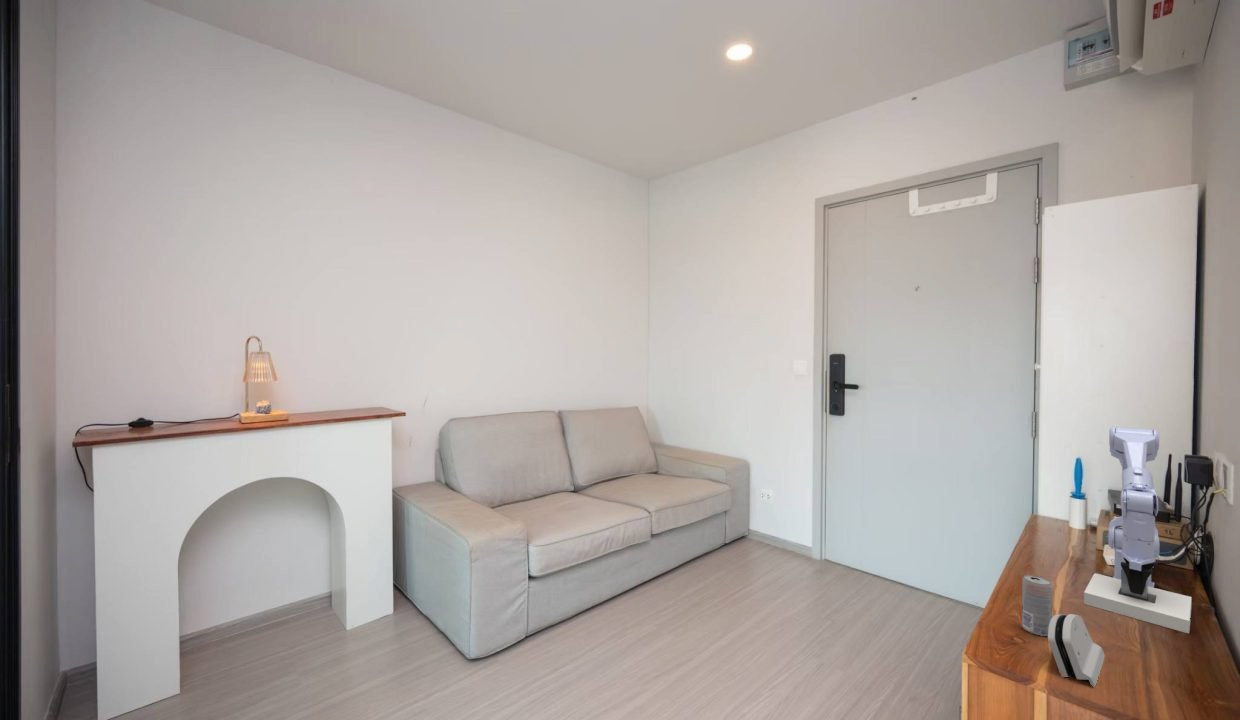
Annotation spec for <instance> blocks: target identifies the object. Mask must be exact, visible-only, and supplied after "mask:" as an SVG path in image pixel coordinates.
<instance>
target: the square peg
mask: <svg viewBox="0 0 1240 720" xmlns="http://www.w3.org/2000/svg"><path fill="white" fill-rule="evenodd" d="M1121 595H1124V596H1128V597H1132V598H1136V599H1140V600H1143V601H1147V602H1148V579H1147V581H1146V585H1145V589H1144V592H1143V594H1142V595H1139V594H1135V593H1131V592H1130V589H1129V585H1128V581H1127V577H1126V574H1125V572H1124V570H1123V569H1121Z"/></svg>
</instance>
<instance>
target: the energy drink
mask: <svg viewBox="0 0 1240 720" xmlns="http://www.w3.org/2000/svg"><path fill="white" fill-rule="evenodd" d="M1021 582H1022V585H1021V587H1022V588H1021V589H1022V590H1021V594H1022V595H1021V599H1022V600H1021V627H1022V628H1023V630H1025V632H1027V631H1028V632H1027V633H1029V632H1030V634H1032V633H1033V634H1032V635H1034V634H1036V635H1035V636H1038V635H1040V636H1039V637H1043V636H1047V637H1048V629H1049V624H1050V621H1051V619H1052V617H1053V584H1052V581H1051V580H1050V579H1048V578H1045V577H1042V576H1038V575H1033V574H1025V575H1024V576H1023V578H1022V581H1021Z"/></svg>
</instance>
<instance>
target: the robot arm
mask: <svg viewBox="0 0 1240 720" xmlns="http://www.w3.org/2000/svg"><path fill="white" fill-rule="evenodd" d="M1108 436H1109V438H1108V439H1109V440H1108V441H1109V453H1110V456H1111V457H1114V458H1115V459H1117V460H1119V463H1120V465H1121V482H1122V483H1121V487H1122V490H1121V492H1120V509H1121V516H1119V517H1116V518H1113V519H1111V520H1110V521H1109V525H1108V536H1107V537H1108V547H1109V548H1110V549H1111V550H1112V549H1113V550H1114V573H1113V576H1112V578H1116V579H1120V580H1121V569H1123V570H1124V572H1125V574H1126V577H1127V581H1128V585H1129V589H1130V592H1131V593H1135V594H1139V595H1142V594H1143V592H1144V589H1145V585H1146V581H1147V579H1148V586H1149V587H1153V588H1155V582H1154V581H1152V574H1153V571H1154V570H1153V568H1154V567H1155V566H1156V558H1157V557H1158V556H1159V555H1160V549H1161V548H1160V537H1159V530H1158V529H1157V527H1156V517H1157V515H1158V513H1159V499H1158V495H1157V492H1156V491H1157V490H1155V489H1154V478H1153V475H1152V473H1151V472H1150V471H1149V470H1147V469H1146V466H1147V465H1146V464H1147V463H1148V462H1151V461H1155V460H1156V458H1157V456H1158V452H1159V448H1160V434H1159V431H1158V430H1157V429H1144V428H1142V429H1141V428H1131V427H1117V426H1111V427H1110V428H1109V435H1108Z"/></svg>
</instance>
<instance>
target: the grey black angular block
mask: <svg viewBox="0 0 1240 720" xmlns="http://www.w3.org/2000/svg"><path fill="white" fill-rule="evenodd" d="M1088 630H1089V629H1087V627H1086V624H1085V621H1084V619H1083V617H1082V616H1081V615H1078V614H1074V613H1073V614H1072V613H1069V614H1065V613H1061V614H1060V613H1059V614H1055V615H1052V619H1051V621H1050V624H1049V629H1048V636H1047V640H1048V644H1049V647H1050V649H1051V652H1052V655H1053V657H1054V661H1055V663H1056V667H1057V669H1058V671H1059V672H1058V673H1059V674H1060V673H1061V674H1062V675H1065V676H1067V677H1069V678H1070V677H1072V676H1073V678H1076V680H1085V681H1086V680H1088V681H1089V684H1090V686H1091V685H1092V686H1094V687H1095V685H1096V683H1097V684H1098V682H1097V680H1098V681H1099V679H1098V676H1099V677H1100V675H1101V672H1100V670H1101V671H1102V667H1103V664H1104V662H1105V658H1106V654H1105V653H1104V650H1103V648H1102V647H1101V646H1100V645H1099V644H1097V643H1095V642H1094V641H1093V639H1092V637H1091V635H1090V632H1089V631H1088ZM1099 674H1100V675H1099ZM1092 686H1091V687H1092Z"/></svg>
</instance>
